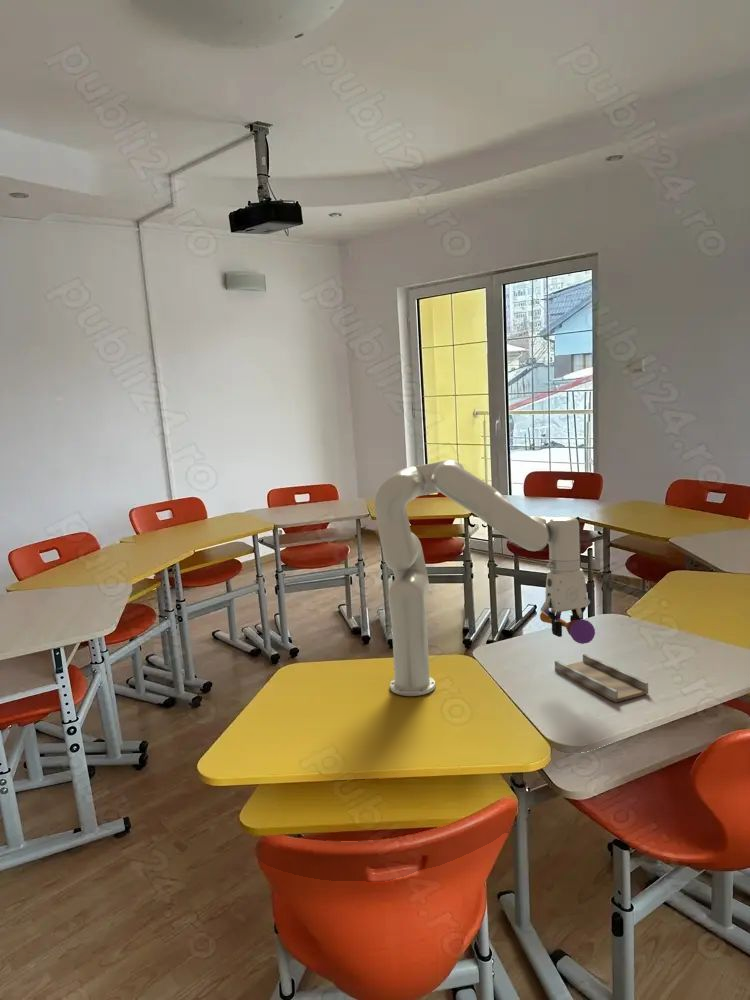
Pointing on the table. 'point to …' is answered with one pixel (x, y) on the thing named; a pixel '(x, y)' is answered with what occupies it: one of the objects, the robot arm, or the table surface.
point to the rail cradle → (603, 679)
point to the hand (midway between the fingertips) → (566, 632)
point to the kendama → (575, 629)
